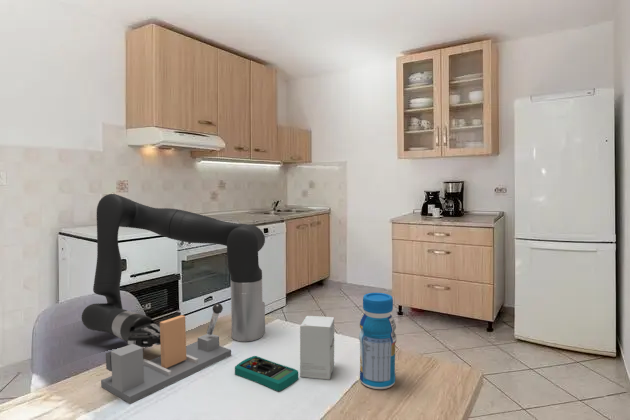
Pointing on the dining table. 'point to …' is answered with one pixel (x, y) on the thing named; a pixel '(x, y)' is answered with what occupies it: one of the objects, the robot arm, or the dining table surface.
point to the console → (158, 368)
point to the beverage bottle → (377, 342)
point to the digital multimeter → (266, 373)
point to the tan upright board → (173, 341)
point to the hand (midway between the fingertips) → (171, 342)
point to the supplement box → (317, 347)
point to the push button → (108, 361)
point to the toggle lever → (214, 318)
